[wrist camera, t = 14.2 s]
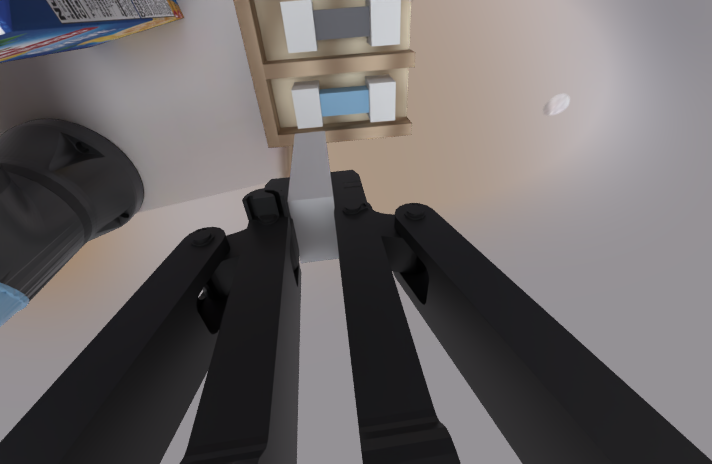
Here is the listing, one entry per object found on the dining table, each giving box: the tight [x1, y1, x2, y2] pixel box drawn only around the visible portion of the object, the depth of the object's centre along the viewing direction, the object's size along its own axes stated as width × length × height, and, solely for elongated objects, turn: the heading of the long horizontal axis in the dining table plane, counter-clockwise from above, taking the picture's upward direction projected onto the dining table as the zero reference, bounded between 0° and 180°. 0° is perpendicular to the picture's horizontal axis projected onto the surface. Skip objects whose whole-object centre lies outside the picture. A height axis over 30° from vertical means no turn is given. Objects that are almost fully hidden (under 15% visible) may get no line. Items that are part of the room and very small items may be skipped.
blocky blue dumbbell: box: [291, 74, 396, 129], centre depth 35 cm, size 11×4×4 cm, turn 93°
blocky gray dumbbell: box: [280, 0, 401, 53], centre depth 31 cm, size 11×4×4 cm, turn 93°
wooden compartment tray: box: [233, 0, 415, 148], centre depth 34 cm, size 17×16×4 cm
